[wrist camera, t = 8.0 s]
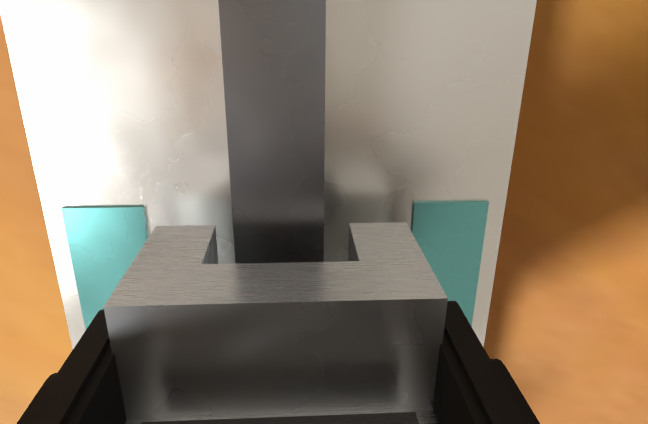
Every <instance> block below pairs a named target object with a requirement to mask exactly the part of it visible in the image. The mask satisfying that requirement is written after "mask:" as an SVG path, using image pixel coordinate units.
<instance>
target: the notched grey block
mask: <svg viewBox="0 0 648 424" xmlns="http://www.w3.org/2000/svg"><path fill="white" fill-rule="evenodd" d="M447 301H448V298H447V296H446V294H445V292H444V290H443V289H442V287H441V285H440V283H439V281H438V280H437V278H436V276H435V274H434V272H433V270H432V269H431V267H430V265H429V263H428V261H427V259H426V258H425V256H424V254H423V252H422V250H421V248H420V247H419V245H418V243H417V241H416V239H415V237H414V236H413V234H412V232H411V230H410V228H409V226H408V225H407V223H406V222H388V223H349V241H348V261H341V262H290V263H239V264H219V263H218V251H217V238H216V225H190V226H155V228H154V230H153V231H152V233H151V234H150V236H149V237H148V239H147V240H146V242H145V243H144V245H143V247H142V248H141V250H140V251H139V253H138V254H137V256H136V257H135V259H134V260H133V262H132V263H131V265H130V267H129V268H128V270H127V271H126V273H125V274H124V276H123V277H122V279H121V280H120V282H119V284H118V285H117V287H116V288H115V290H114V291H113V293H112V294H111V296H110V297H109V299H108V301H107V302H106V304H105V305H104V312H105V318H106V323H107V329H108V334H109V340H110V345H111V351H112V354H115V358H116V364H117V369H118V375H119V380H120V386H121V391H122V397H123V403H124V408H125V414H126V419H127V420H126V422H125V424H438V422H437V419H436V416H435V414H434V411H433V400H434V392H435V383H436V374H437V365H438V356H439V348H440V344H443V335H444V327H445V318H446V309H447Z"/></svg>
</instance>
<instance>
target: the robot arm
mask: <svg viewBox="0 0 648 424" xmlns="http://www.w3.org/2000/svg"><path fill="white" fill-rule="evenodd" d="M433 411H434V414H435V416H436V419H437V422H438V424H540V423H539V421H538V420H537V418H536V416H535V415H534V413H533V411H532V410H531V408H530V406H529V405H528V403H527V401H526V400H525V398H524V396H523V395H522V393H521V391H520V390H519V388H518V387H517V385H516V383H515V382H514V380H513V378H512V377H511V375H510V373H509V372H508V370H507V368H506V367H505V365H504V364H503V363H502V361H500V360H498V359H490V358H489V356H488V355H487V353H486V351H485V349H484V348H483V346H482V344H481V342H480V341H479V339H478V337H477V335H476V334H475V332H474V330H473V329H472V327H471V325H470V323H469V322H468V320H467V318H466V316H465V315H464V313H463V311H462V309H461V308H460V306H459V304H458V303H457V302H456V301H447V309H446V318H445V327H444V335H443V344H440V348H439V356H438V365H437V374H436V383H435V392H434V400H433ZM126 420H127V419H126V414H125V408H124V403H123V397H122V391H121V386H120V380H119V375H118V369H117V364H116V358H115V354H112V351H111V345H110V340H109V334H108V329H107V323H106V318H105V312H104V310H99V311H98V313H97V314H96V316H95V317H94V319H93V320H92V322H91V323H90V325H89V326H88V328H87V329H86V331H85V332H84V334H83V335H82V337H81V338H80V340H79V341H78V343H77V344H76V346H75V347H74V349H73V351H72V352H71V354H70V355H69V357H68V358H67V360H66V361H65V363H64V364H63V366H62V367H61V369H60V370H59V372H58V373H54V374H52V375H50V376H49V378H48V379H47V380H46V381H45V383H44V384H43V386H42V387H41V388H40V390H39V391H38V393H37V394H36V396H35V397H34V399H33V400H32V402H31V403H30V405H29V406H28V408H27V409H26V411H25V412H24V414H23V415H22V417H21V418H20V420H19V421H18V422H17V424H125V422H126Z"/></svg>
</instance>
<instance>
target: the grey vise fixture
mask: <svg viewBox="0 0 648 424" xmlns="http://www.w3.org/2000/svg"><path fill="white" fill-rule="evenodd" d="M536 3H537V0H0V14H1V19H2V23H3V28H4V33H5V37H6V42H7V46H8V51H9V56H10V60H11V65H12V70H13V74H14V79H15V83H16V88H17V93H18V97H19V102H20V107H21V111H22V116H23V120H24V125H25V130H26V134H27V139H28V144H29V148H30V153H31V157H32V162H33V167H34V171H35V176H36V180H37V185H38V190H39V194H40V199H41V204H42V208H43V213H44V217H45V222H46V227H47V231H48V236H49V241H50V245H51V250H52V254H53V259H54V264H55V268H56V273H57V278H58V282H59V287H60V291H61V296H62V301H63V305H64V310H65V315H66V319H67V324H68V328H69V333H70V338H71V342H72V347H73V349H74V347H75V346H76V344H77V343H78V341H79V340H80V338H81V337H82V335H83V334H84V332H85V331H86V329H87V328H88V326H89V325H90V323H91V322H92V320H93V319H94V317H95V316H96V314H97V313H98V311H99V310H104V305H105V304H106V302H107V301H108V299H109V297H110V296H111V294H112V293H113V291H114V290H115V288H116V287H117V285H118V284H119V282H120V280H121V279H122V277H123V276H124V274H125V273H126V271H127V270H128V268H129V267H130V265H131V263H132V262H133V260H134V259H135V257H136V256H137V254H138V253H139V251H140V250H141V248H142V247H143V245H144V243H145V242H146V240H147V239H148V237H149V236H150V234H151V233H152V231H153V230H154V228H155V226H190V225H216V238H217V251H218V263H219V264H239V263H290V262H341V261H348V241H349V223H388V222H406V223H407V225H408V226H409V228H410V230H411V232H412V234H413V236H414V237H415V239H416V241H417V243H418V245H419V247H420V248H421V250H422V252H423V254H424V256H425V258H426V259H427V261H428V263H429V265H430V267H431V269H432V270H433V272H434V274H435V276H436V278H437V280H438V281H439V283H440V285H441V287H442V289H443V290H444V292H445V294H446V296H447V298H448V301H456V302H457V303H458V304H459V306H460V308H461V309H462V311H463V313H464V315H465V316H466V318H467V320H468V322H469V323H470V325H471V327H472V329H473V330H474V332H475V334H476V335H477V337H478V339H479V341H480V342H481V344H482V346H483V347H484V341H485V334H486V328H487V321H488V315H489V308H490V302H491V295H492V289H493V282H494V276H495V269H496V263H497V256H498V250H499V243H500V237H501V230H502V224H503V217H504V211H505V204H506V198H507V191H508V185H509V178H510V172H511V165H512V159H513V152H514V146H515V139H516V133H517V126H518V120H519V113H520V107H521V100H522V94H523V87H524V81H525V74H526V68H527V61H528V55H529V48H530V42H531V35H532V29H533V22H534V16H535V9H536Z"/></svg>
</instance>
